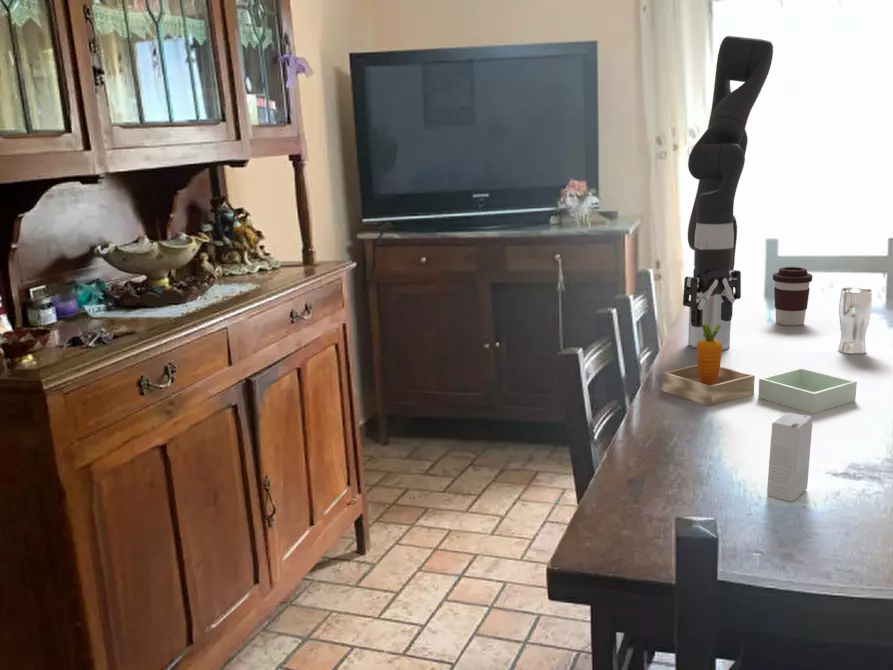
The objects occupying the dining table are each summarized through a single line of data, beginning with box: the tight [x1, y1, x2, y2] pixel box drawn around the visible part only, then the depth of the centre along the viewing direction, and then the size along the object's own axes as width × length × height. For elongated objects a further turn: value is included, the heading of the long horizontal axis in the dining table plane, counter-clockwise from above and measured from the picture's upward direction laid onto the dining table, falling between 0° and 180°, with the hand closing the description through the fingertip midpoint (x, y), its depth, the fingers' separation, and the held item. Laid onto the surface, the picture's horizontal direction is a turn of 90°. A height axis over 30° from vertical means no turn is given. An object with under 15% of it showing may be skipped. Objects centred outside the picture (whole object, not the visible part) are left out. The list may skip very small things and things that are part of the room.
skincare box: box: [766, 412, 814, 503], centre depth 138 cm, size 6×4×12 cm
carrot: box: [696, 323, 723, 386], centre depth 188 cm, size 5×5×15 cm
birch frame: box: [662, 364, 756, 407], centre depth 189 cm, size 13×13×4 cm
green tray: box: [757, 367, 858, 415], centre depth 182 cm, size 13×13×4 cm
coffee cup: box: [772, 266, 813, 327], centre depth 245 cm, size 10×10×15 cm
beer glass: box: [837, 286, 873, 355], centre depth 215 cm, size 7×7×15 cm
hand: (711, 323), depth 186 cm, fingers open, 8 cm apart
